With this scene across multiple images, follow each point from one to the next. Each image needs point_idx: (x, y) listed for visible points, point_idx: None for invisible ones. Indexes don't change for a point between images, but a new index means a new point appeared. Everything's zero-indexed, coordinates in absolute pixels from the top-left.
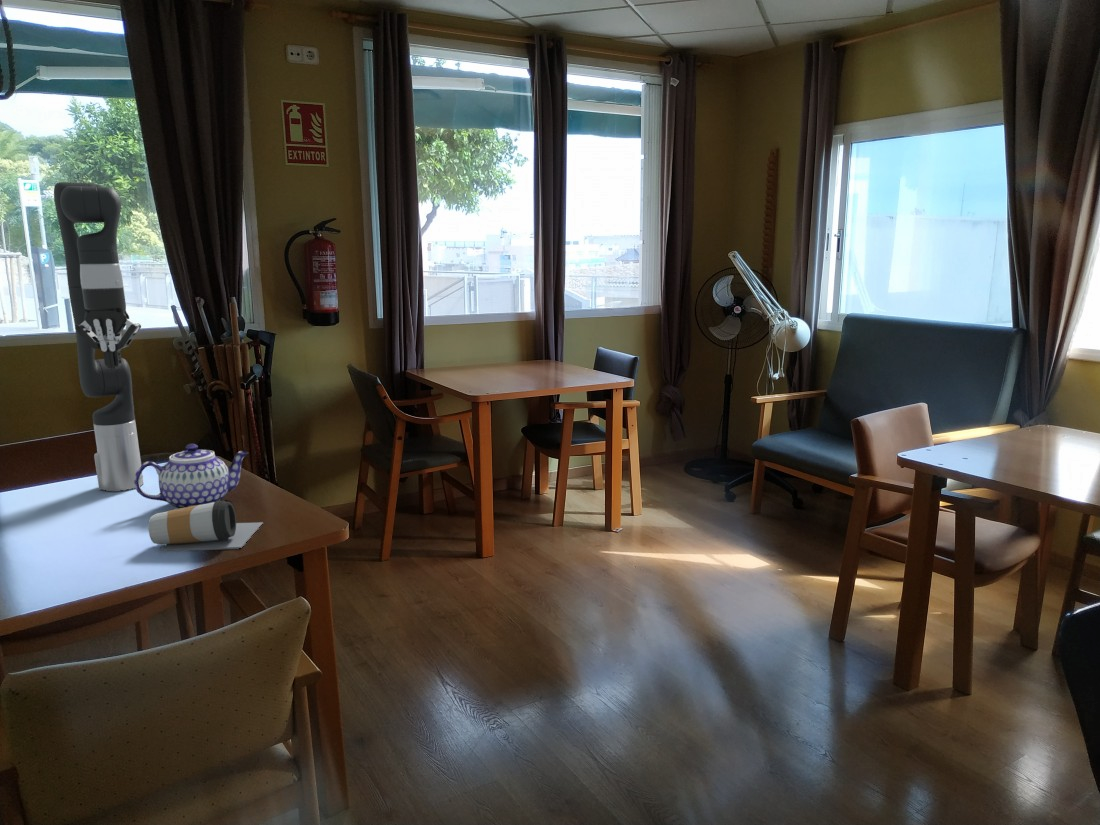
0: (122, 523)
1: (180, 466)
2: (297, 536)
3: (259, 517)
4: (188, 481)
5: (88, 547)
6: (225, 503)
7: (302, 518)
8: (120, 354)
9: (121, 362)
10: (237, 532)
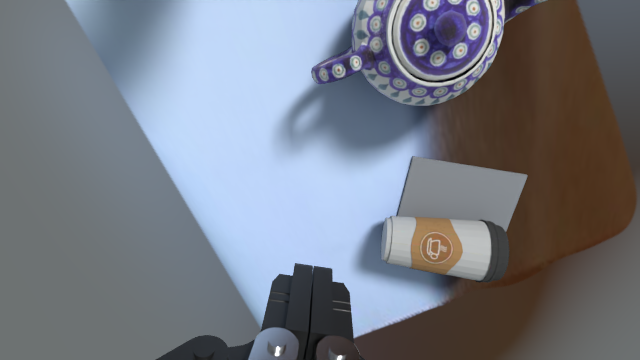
0: (301, 113)
1: (417, 88)
2: (569, 235)
3: (522, 140)
4: (425, 105)
5: (286, 207)
6: (504, 271)
7: (589, 163)
8: (352, 332)
9: (348, 295)
10: (488, 209)
